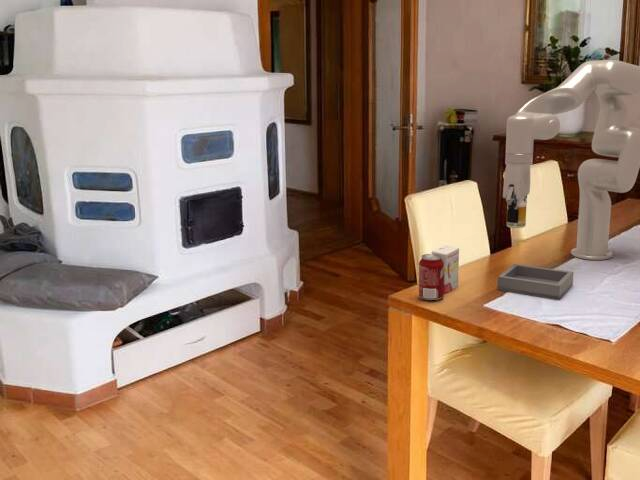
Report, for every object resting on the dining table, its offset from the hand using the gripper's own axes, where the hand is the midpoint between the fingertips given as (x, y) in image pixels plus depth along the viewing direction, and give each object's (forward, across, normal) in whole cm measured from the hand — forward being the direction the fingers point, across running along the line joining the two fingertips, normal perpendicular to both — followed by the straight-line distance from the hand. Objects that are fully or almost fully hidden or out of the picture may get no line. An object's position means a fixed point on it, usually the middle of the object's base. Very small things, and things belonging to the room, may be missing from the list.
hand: (516, 219), depth 194 cm
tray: (+17, +7, +9) cm, 21 cm away
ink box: (+18, +21, -13) cm, 30 cm away
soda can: (+18, +30, -12) cm, 37 cm away
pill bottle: (+2, 0, 0) cm, 2 cm away
